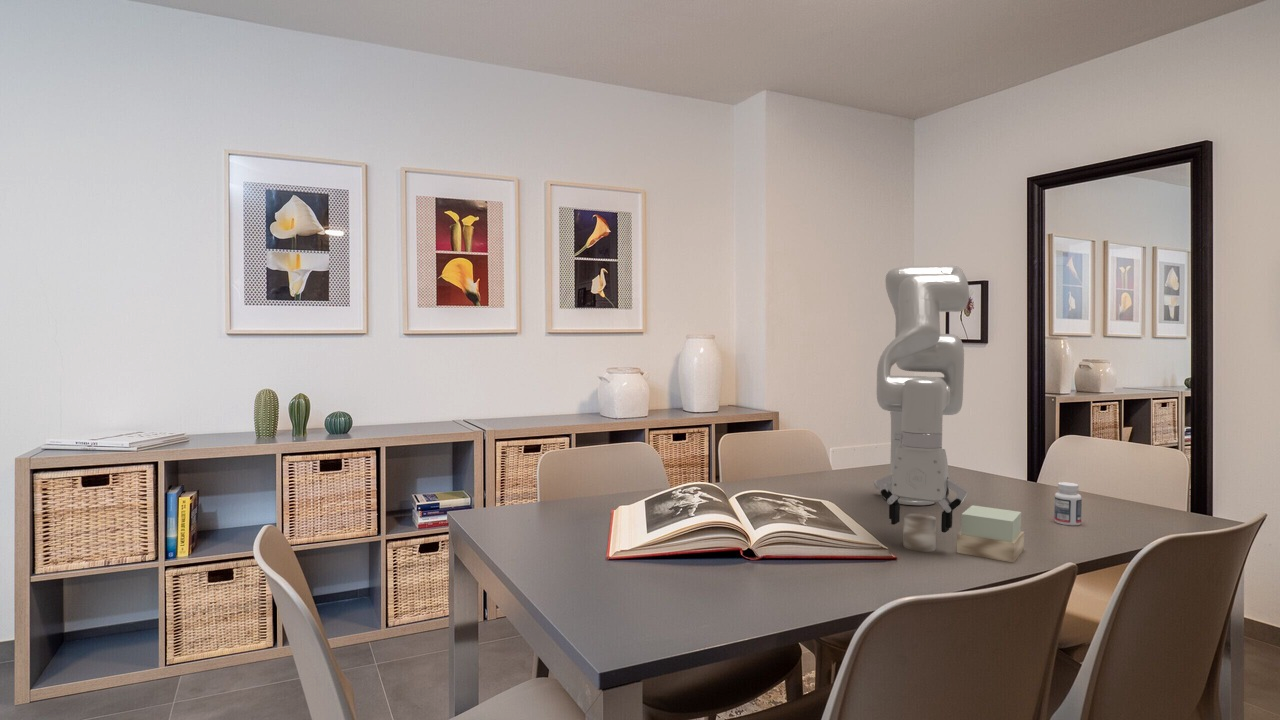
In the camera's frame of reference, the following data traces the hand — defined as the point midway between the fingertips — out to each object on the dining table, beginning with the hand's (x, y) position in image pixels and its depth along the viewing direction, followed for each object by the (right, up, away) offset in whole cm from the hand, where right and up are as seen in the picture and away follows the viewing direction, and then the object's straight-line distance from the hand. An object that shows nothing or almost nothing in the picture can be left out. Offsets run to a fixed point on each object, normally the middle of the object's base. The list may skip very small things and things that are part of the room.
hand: (919, 527), depth 145 cm
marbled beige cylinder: (0, -4, +1) cm, 4 cm away
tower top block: (+13, -1, -2) cm, 13 cm away
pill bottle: (+41, -4, +20) cm, 46 cm away
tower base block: (+13, -5, -2) cm, 14 cm away
